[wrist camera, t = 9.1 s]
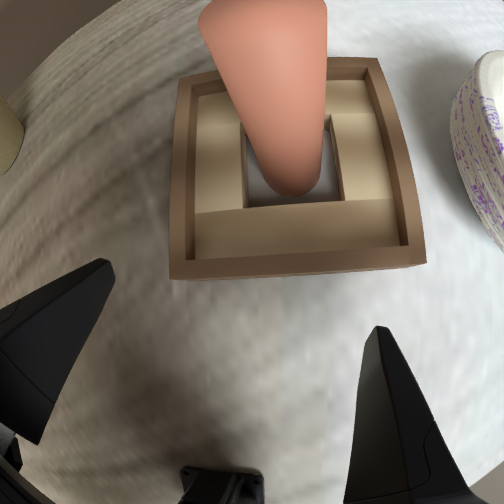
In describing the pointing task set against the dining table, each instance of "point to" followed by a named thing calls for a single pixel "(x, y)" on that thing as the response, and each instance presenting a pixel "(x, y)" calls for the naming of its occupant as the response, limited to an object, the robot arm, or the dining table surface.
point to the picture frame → (293, 215)
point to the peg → (274, 81)
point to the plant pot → (9, 136)
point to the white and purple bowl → (482, 140)
